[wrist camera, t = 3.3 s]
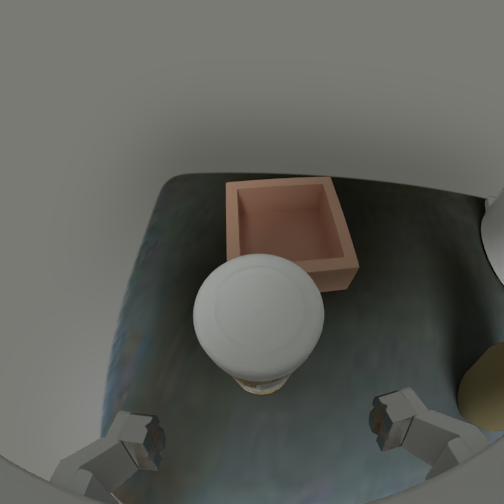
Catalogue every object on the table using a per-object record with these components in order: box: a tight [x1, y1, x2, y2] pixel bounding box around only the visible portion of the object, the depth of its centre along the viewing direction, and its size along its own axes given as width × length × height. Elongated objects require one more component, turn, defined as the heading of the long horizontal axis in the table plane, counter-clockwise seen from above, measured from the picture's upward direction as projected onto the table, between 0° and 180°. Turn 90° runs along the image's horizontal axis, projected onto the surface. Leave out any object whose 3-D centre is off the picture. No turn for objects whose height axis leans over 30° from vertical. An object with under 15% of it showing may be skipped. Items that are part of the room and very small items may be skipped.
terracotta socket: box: [226, 177, 359, 292], centre depth 25 cm, size 10×10×4 cm
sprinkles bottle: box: [193, 254, 324, 394], centre depth 15 cm, size 5×5×14 cm
